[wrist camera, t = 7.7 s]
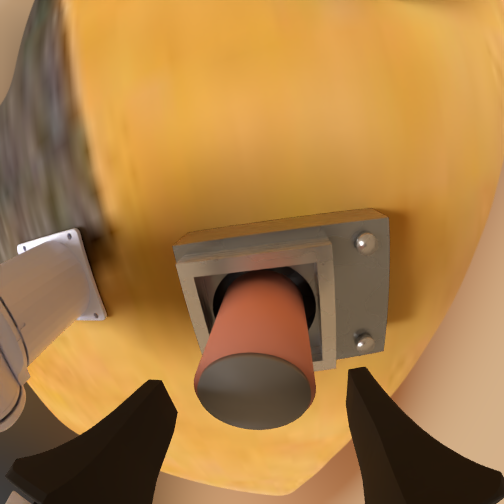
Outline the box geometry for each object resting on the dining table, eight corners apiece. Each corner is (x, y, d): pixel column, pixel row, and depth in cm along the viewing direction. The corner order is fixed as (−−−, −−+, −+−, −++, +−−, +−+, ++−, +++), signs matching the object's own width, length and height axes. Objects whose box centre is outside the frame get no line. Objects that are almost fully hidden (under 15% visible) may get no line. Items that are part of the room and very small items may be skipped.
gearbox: (216, 345, 21) (203, 384, 16) (188, 232, 18) (162, 254, 14) (372, 327, 19) (389, 364, 15) (371, 207, 16) (399, 223, 12)
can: (234, 342, 17) (212, 432, 10) (214, 276, 15) (174, 357, 9) (307, 333, 16) (319, 426, 10) (297, 263, 15) (311, 344, 8)
